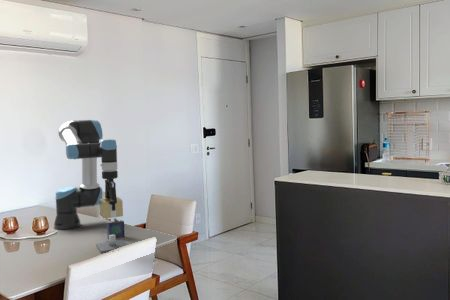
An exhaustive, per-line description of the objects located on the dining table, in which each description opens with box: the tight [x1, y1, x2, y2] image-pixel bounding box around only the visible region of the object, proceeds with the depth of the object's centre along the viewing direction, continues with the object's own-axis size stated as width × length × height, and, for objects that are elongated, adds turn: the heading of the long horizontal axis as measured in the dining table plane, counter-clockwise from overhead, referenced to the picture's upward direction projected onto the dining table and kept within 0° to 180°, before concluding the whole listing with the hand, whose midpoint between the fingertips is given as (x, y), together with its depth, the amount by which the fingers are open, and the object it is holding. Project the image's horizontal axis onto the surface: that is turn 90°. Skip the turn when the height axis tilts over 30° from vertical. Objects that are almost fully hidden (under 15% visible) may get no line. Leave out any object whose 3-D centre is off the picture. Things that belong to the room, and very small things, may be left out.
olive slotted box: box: [99, 196, 124, 219], centre depth 209 cm, size 10×10×8 cm
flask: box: [106, 217, 125, 240], centre depth 227 cm, size 9×3×11 cm, turn 109°
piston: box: [95, 235, 129, 254], centre depth 210 cm, size 14×14×6 cm
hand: (111, 214), depth 209 cm, fingers closed on olive slotted box, 9 cm apart
